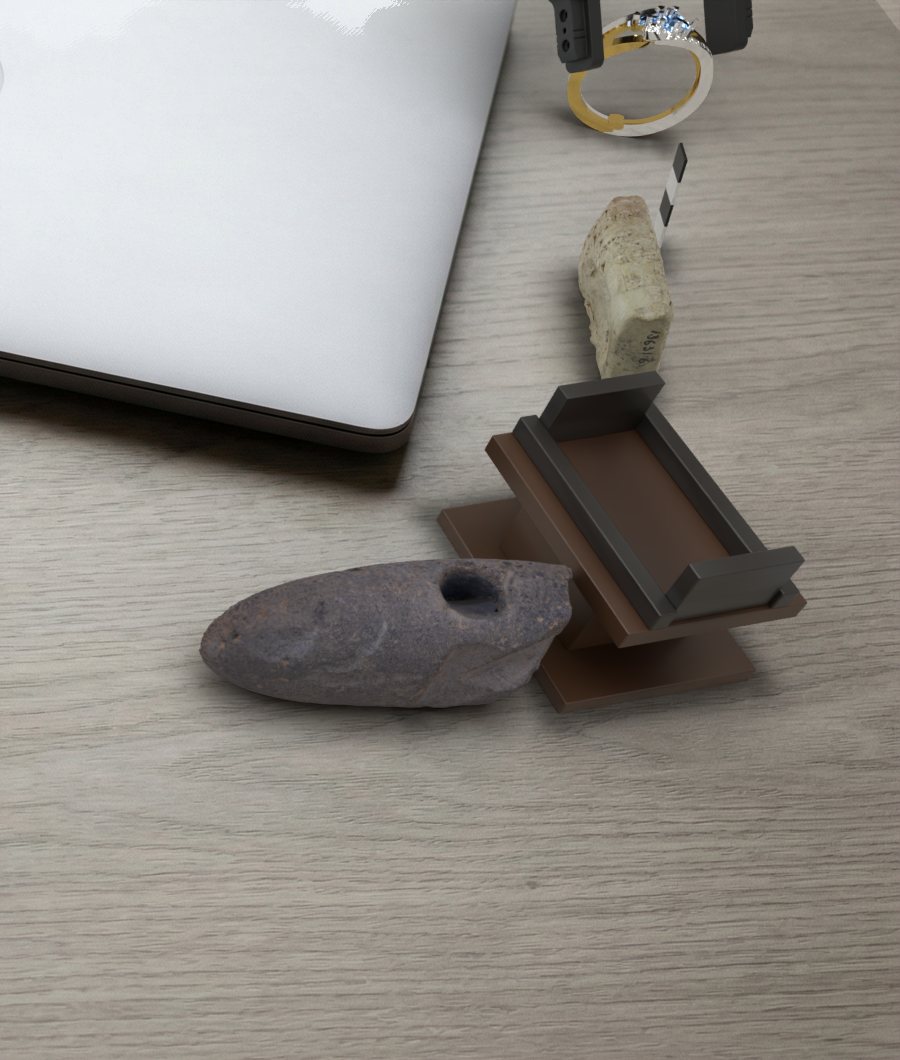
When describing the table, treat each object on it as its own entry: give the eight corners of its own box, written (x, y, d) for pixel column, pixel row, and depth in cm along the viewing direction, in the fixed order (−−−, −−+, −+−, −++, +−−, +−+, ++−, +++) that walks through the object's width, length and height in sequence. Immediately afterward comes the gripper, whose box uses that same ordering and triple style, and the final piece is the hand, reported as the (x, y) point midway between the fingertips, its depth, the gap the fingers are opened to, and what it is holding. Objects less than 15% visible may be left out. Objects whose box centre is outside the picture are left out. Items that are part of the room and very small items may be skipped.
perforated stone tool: (194, 729, 72) (237, 634, 67) (172, 628, 76) (211, 531, 70) (548, 732, 72) (620, 638, 67) (511, 631, 76) (576, 534, 70)
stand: (609, 493, 81) (699, 359, 74) (746, 682, 74) (860, 555, 67) (433, 522, 80) (508, 389, 72) (556, 717, 73) (651, 591, 66)
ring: (543, 135, 97) (603, 15, 91) (547, 103, 99) (606, -17, 93) (673, 165, 96) (744, 44, 89) (675, 131, 97) (744, 11, 91)
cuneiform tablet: (649, 250, 91) (693, 411, 84) (557, 253, 92) (592, 411, 85) (682, 142, 86) (732, 302, 78) (583, 146, 87) (623, 305, 80)
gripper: (560, -258, 86) (584, 65, 88) (812, -285, 88) (830, 33, 90) (470, -209, 94) (494, 88, 96) (704, -235, 95) (723, 58, 97)
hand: (657, 61), depth 93 cm, fingers open, 8 cm apart
